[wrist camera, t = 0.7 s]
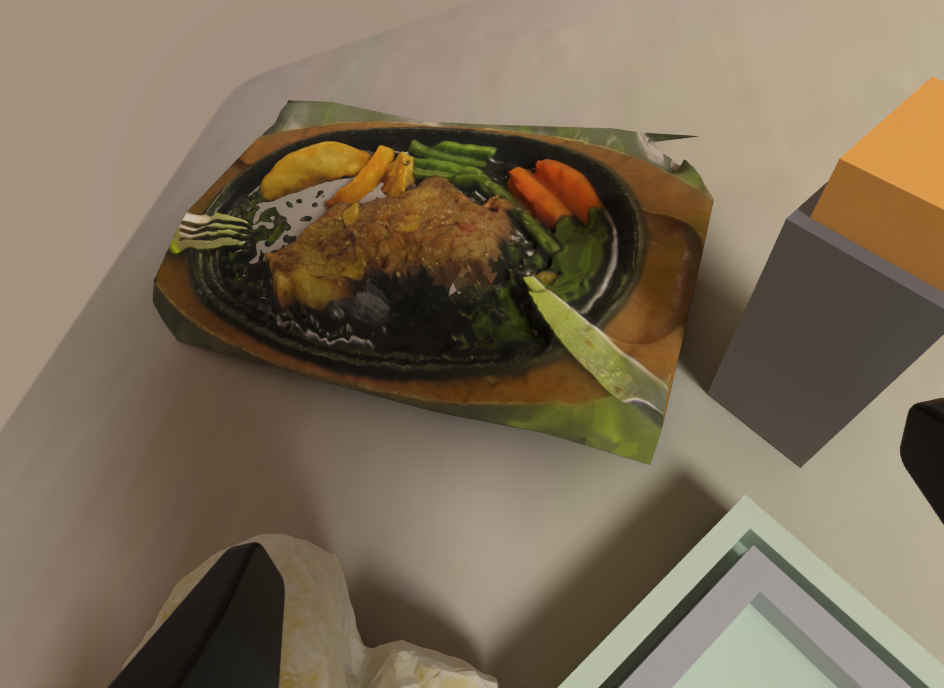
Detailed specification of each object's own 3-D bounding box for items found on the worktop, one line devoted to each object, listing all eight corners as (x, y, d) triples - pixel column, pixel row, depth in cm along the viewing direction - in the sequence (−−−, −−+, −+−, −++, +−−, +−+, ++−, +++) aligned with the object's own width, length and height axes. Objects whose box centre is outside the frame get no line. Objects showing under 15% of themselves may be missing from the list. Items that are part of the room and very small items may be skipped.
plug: (869, 395, 23) (1134, 141, 12) (800, 467, 22) (1018, 264, 11) (773, 330, 25) (924, 62, 14) (706, 393, 24) (813, 159, 13)
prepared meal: (86, 297, 29) (262, 62, 36) (132, 331, 32) (285, 108, 39) (653, 470, 21) (733, 126, 28) (641, 492, 24) (716, 177, 31)
